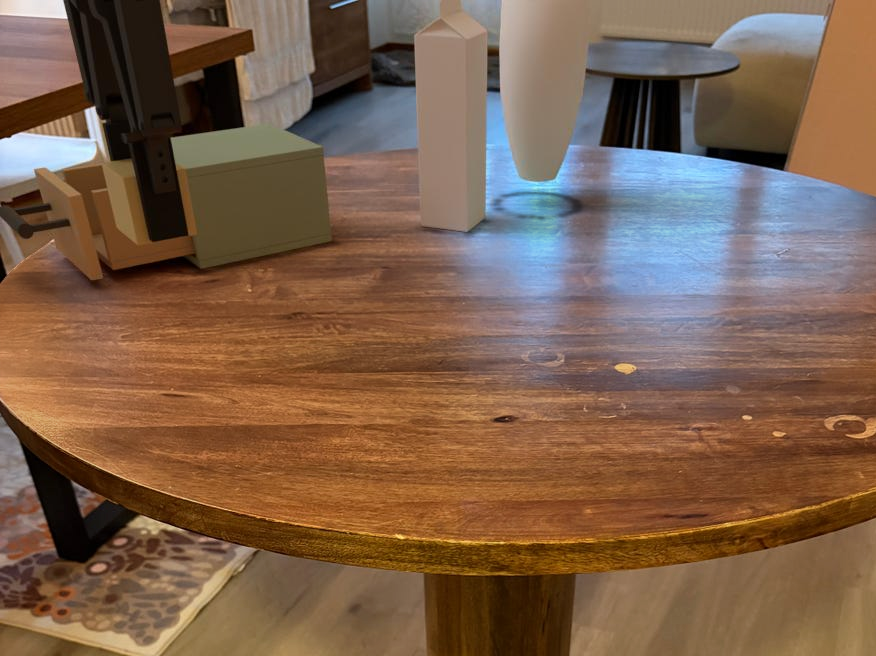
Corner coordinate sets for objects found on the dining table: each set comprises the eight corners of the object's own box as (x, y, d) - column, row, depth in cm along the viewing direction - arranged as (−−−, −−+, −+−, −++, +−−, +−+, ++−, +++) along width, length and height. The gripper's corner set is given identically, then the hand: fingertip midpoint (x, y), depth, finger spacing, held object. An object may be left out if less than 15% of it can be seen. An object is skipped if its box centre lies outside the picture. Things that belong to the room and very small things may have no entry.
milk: (485, 218, 109) (490, -6, 95) (467, 233, 105) (468, 1, 91) (438, 211, 111) (436, -10, 96) (418, 226, 107) (412, -3, 92)
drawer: (41, 291, 88) (14, 205, 83) (8, 257, 95) (-18, 176, 90) (227, 252, 97) (214, 172, 92) (185, 224, 104) (171, 148, 99)
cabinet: (201, 269, 96) (182, 169, 89) (156, 236, 103) (135, 142, 97) (332, 241, 103) (323, 146, 96) (281, 212, 110) (269, 123, 104)
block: (137, 245, 66) (122, 178, 63) (116, 228, 68) (101, 162, 65) (197, 234, 68) (185, 168, 65) (174, 218, 70) (161, 153, 67)
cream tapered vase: (533, 185, 120) (542, -16, 106) (595, 202, 114) (613, -8, 100) (477, 201, 114) (479, -9, 100) (539, 220, 109) (550, 1, 94)
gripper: (189, -198, 49) (253, 252, 64) (84, -197, 59) (161, 189, 75) (45, -203, 45) (149, 273, 61) (-40, -201, 56) (68, 204, 71)
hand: (155, 226), depth 68 cm, fingers closed on block, 4 cm apart
